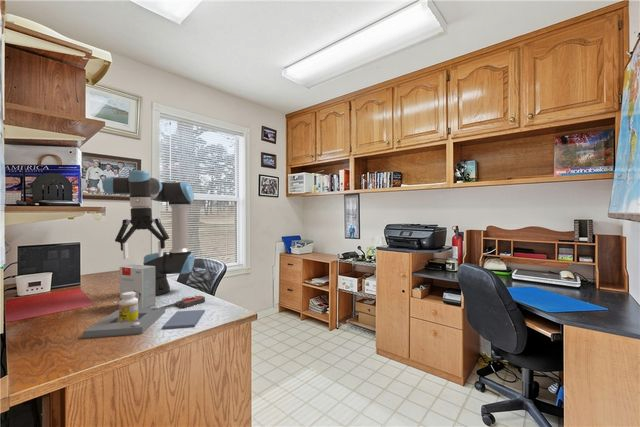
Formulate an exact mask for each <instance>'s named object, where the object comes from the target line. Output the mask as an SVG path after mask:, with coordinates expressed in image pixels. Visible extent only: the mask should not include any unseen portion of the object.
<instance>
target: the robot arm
mask: <svg viewBox="0 0 640 427" xmlns="http://www.w3.org/2000/svg"><path fill="white" fill-rule="evenodd" d="M101 186H102V190H103V193H105V194H108V195H123V196H125V195H126V196H129V206H130V207H131V208H130V218H131V219H122V222H121V224H122V225H121V227H120V229H119V231H118V233H117V235H116V237H115V239H114V241H115V242H116V243H119V244H120V250H121V252H122V253H123V254H122V256H123V260H126V259H129V258H130V257H129V256H130V254H129V242H127V241H128V239H130V238H131V236H132V235H133V234H134V233H135V232H136V231H139V230H144V231H145V230H148V231H149V232H150V233H152V234H153V235H154V237H155V238H156V239H158V240H159V241H158V242H157V248H158V252H155V253H149V254H148V253H147V254H146V255H145V256H144V257H143V264H142V265H147V266H155V296H160V295H164V294H168V293H169V292H170V291H171V285H170V284H169V280H168V278H167V277H168V276H167V275H180V274H181V275H184V274H189V273H191V271H193V268H194V264H195V254H194V253H192V250H191V249H190V248H189V222H188V221H189V214H188V213H189V212H188V210H189V207H190V206H191V203H193V202H194V198H195V197H194V196H195V195H194V190H193V187H192V185H191V184H190V183H189V182H184V181H183V182H182V181H181V182H179V181H177V182H176V181H175V182H173V181H171V182H167V181H166V182H165V181H160V180H159V179H157V178H155V177H151V175H150V172H149V171H148V170H136V169H135V170H130V171H129V172H128V177H121V176H120V177H119V176H118V177H117V176H115V177H114V176H110V177H105V178H103V180H102V183H101ZM152 201H153V202H154V201H155V202H161V203H168V206H169V207H170V208H171V249H170V250H169V252H167V251H164V250H163V249H165V248H166V243H165V241H166V240H167V241H168V240H169V239H170V236H169V235H168V233H167V231H166V229H165V228H164V226H163V225H162V223H161V221H162V220H161V218H159V217H158V218H154V219H153V217H152V216H153V212H152V208H151V207H152ZM130 224H131V227H130V228H129V229H128V226H129V225H130ZM152 224H155V225H156V227H157V229H158V230H159V231H158V230H157V229H156V228H155V227H154V226H153V225H152ZM127 229H128V231H126V230H127Z"/></svg>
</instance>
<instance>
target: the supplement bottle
mask: <svg viewBox="0 0 640 427" xmlns="http://www.w3.org/2000/svg"><path fill="white" fill-rule="evenodd" d="M135 295H136V294H135V292H126V293H123V294H122V298H123V299H122V300H121V301H120V300H119V303H118V310H119V322H134V321H137V320H139V319H138V299H137V298H135Z"/></svg>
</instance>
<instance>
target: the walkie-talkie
mask: <svg viewBox="0 0 640 427" xmlns="http://www.w3.org/2000/svg"><path fill="white" fill-rule="evenodd" d="M204 302H205V303H206V296H204V295H194V296H191V295H189V296H185V297H183V298H181V299H180V300H176V301H175V302H173V303H171V304H167V305H163V306H161V307H165V309H166V308H170V307H174V306H177V307H179V308H182V309H188V308H191V307H194V305H195V306H198V305H201V304H204ZM197 304H198V305H197ZM187 307H188V308H187Z"/></svg>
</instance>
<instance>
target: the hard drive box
mask: <svg viewBox="0 0 640 427" xmlns="http://www.w3.org/2000/svg"><path fill="white" fill-rule="evenodd" d="M126 292H135V294H136V295H135V298H137V299H138V309H141V308H152V307H154V306H156V295H155V266H147V265H144V264H128V265H122V266H119V302H120V301H121V300H122V299H123V298H122V294H123V293H126Z"/></svg>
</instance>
